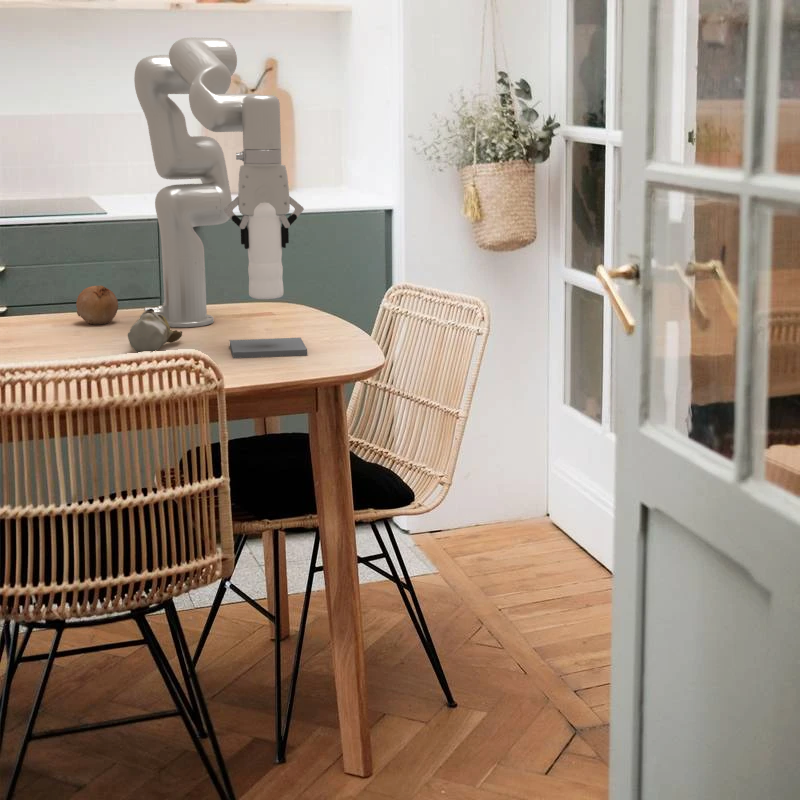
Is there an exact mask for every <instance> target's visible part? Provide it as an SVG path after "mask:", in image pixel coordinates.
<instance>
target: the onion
mask: <svg viewBox="0 0 800 800" xmlns="http://www.w3.org/2000/svg"><path fill="white" fill-rule="evenodd" d="M118 301H119V300H118V298H117V296H116V295H115V293H114V292H113V291H112V290H110V289H109V288H107V287H105V286H104V285H101V284H100V285H91V286H88V287H86V288H84V289H83V290H82V291H81V292H79V294H78V296H77V299H76V303H75V305H76V310H77V311H76V314H77V316H78V317H79V318H81V319H82V320H84V321H85V322H86V323H88V325H105V324H108V323H109V322H110V323H111V322H112V321H113V319H114V318H115V317H116V316H117V313H118V309H119V302H118Z"/></svg>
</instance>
